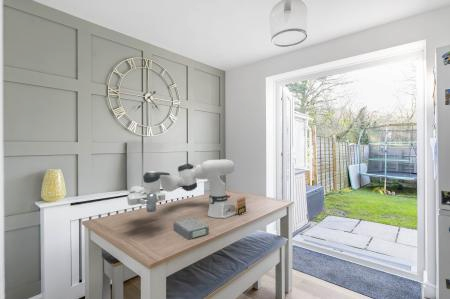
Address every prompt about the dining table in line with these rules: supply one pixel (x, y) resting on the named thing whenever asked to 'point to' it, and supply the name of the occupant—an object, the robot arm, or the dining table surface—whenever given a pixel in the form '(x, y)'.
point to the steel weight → (151, 202)
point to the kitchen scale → (191, 228)
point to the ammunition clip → (240, 206)
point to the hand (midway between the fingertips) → (152, 201)
